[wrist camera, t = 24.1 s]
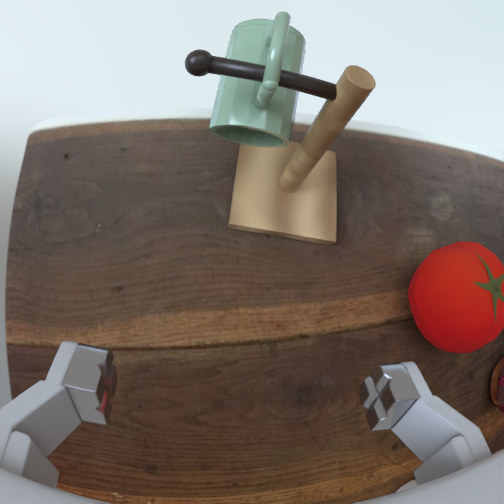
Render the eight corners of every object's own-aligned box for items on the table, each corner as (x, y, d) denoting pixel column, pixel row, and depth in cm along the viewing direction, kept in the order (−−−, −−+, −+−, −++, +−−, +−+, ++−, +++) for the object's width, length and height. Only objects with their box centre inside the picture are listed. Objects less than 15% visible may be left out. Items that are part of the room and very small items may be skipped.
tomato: (459, 361, 30) (526, 359, 20) (380, 342, 29) (452, 339, 19) (469, 272, 34) (530, 253, 24) (396, 239, 32) (461, 205, 22)
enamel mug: (294, 61, 25) (279, 151, 26) (229, 47, 24) (208, 138, 25) (334, 3, 15) (320, 123, 16) (242, -20, 14) (210, 99, 15)
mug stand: (331, 157, 33) (412, 57, 18) (331, 245, 30) (443, 169, 15) (192, 129, 31) (205, -3, 15) (172, 219, 28) (161, 98, 13)
